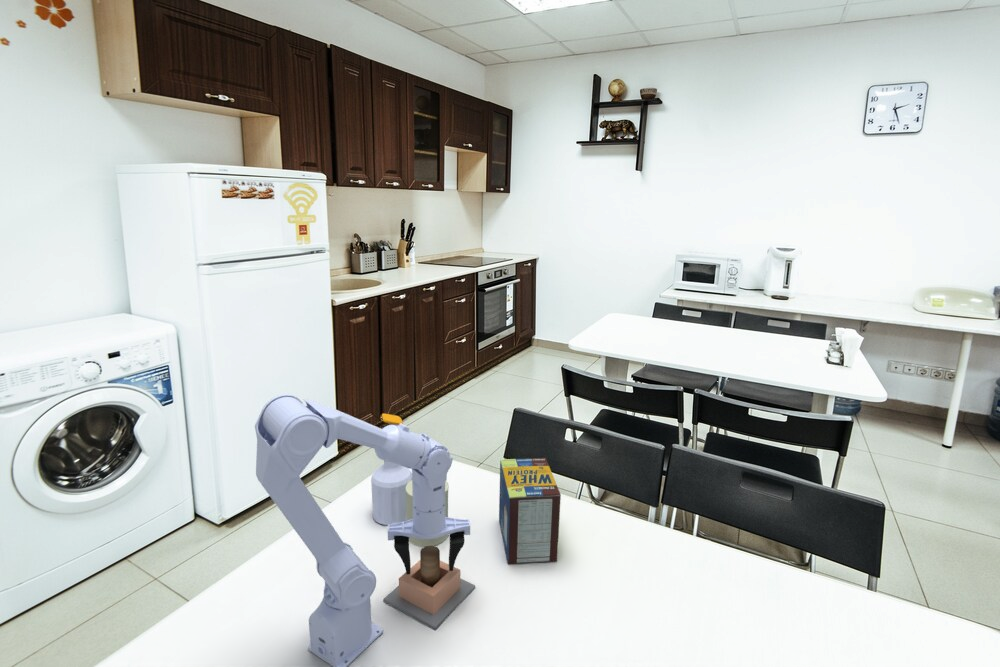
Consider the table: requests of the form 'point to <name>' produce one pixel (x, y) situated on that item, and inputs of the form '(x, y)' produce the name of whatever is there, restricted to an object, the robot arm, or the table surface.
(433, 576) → the walnut peg
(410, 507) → the can
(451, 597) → the terracotta holder
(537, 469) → the protein box
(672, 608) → the table surface
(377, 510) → the soap bottle
